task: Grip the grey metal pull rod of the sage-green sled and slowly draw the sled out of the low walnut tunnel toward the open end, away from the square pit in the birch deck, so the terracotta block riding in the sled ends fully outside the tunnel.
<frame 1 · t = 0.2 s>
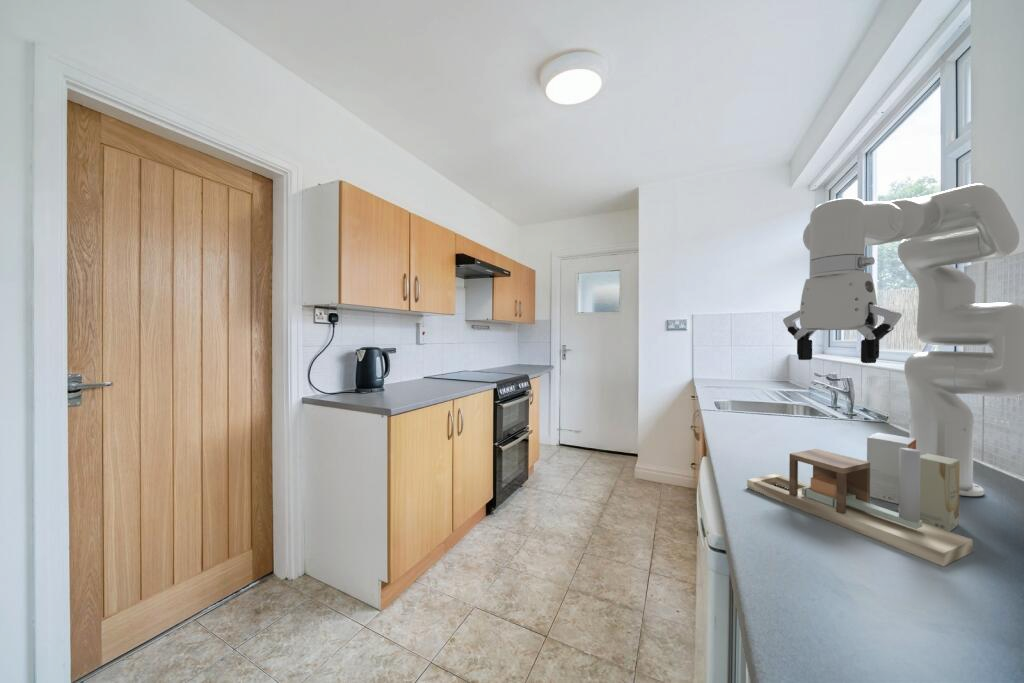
hand: (834, 361, 65), 30 cm above the countertop, tool pointing down, fingers open, 9 cm apart
block: (828, 499, 71), point 2 cm above the countertop, touching deck
tunnel: (827, 509, 71), resting on deck
deck: (840, 514, 69), on the countertop
sled: (859, 474, 66), point 9 cm above the countertop, slide at 0.0 cm
small box: (890, 497, 77), on the countertop
skincare box: (936, 524, 66), on the countertop
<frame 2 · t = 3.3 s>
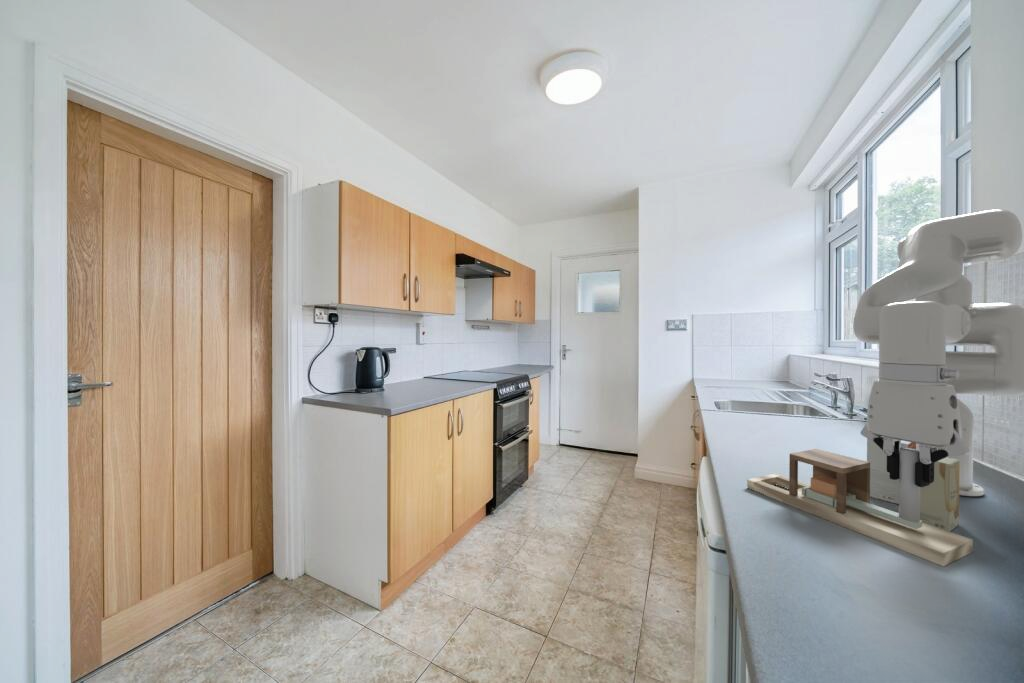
hand: (909, 480, 60), 10 cm above the countertop, tool pointing down, fingers closed on sled, 2 cm apart
sled: (859, 474, 66), point 9 cm above the countertop, slide at 0.0 cm, touching gripper
everything else where it was.
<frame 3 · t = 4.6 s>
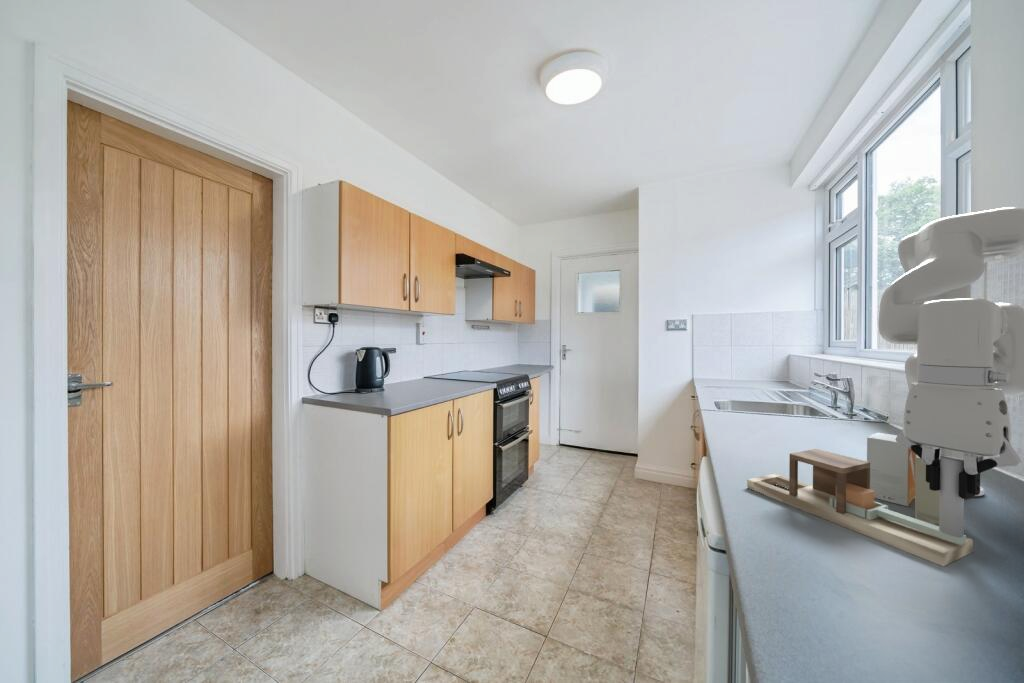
hand: (951, 492, 56), 10 cm above the countertop, tool pointing down, fingers closed on sled, 2 cm apart
block: (854, 509, 67), point 2 cm above the countertop, touching deck, sled
sled: (893, 484, 62), point 9 cm above the countertop, slide at 4.7 cm, touching block, gripper
everything else where it was.
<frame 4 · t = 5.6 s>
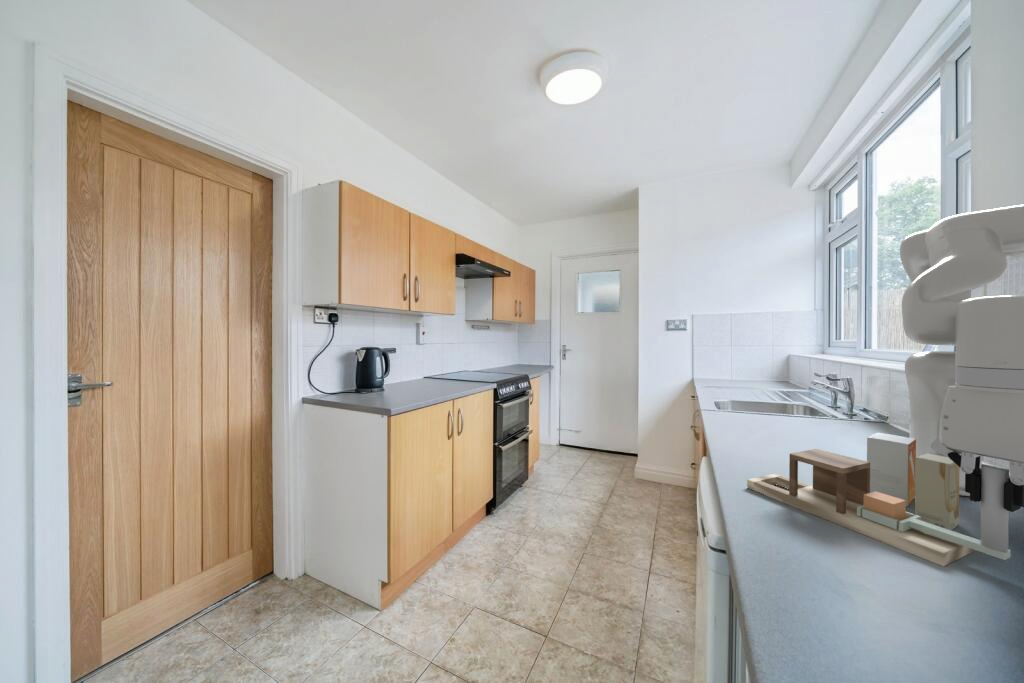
hand: (994, 503, 52), 10 cm above the countertop, tool pointing down, fingers closed on sled, 2 cm apart
block: (884, 519, 63), point 2 cm above the countertop, touching deck, sled
sled: (928, 493, 58), point 9 cm above the countertop, slide at 8.9 cm, touching block, gripper
everything else where it was.
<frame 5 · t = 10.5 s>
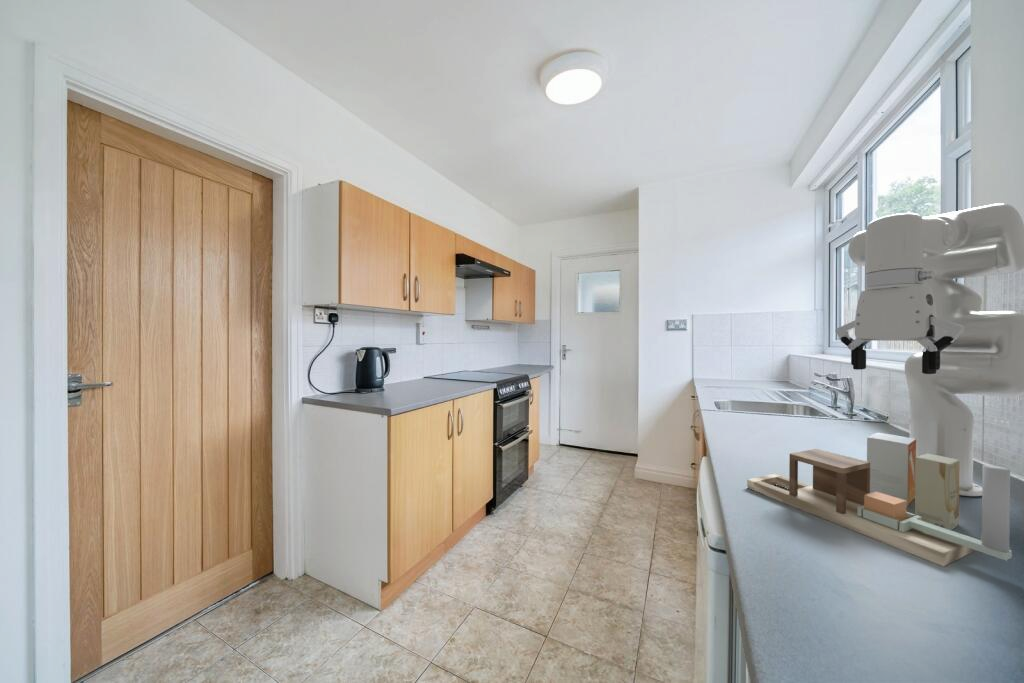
hand: (892, 371, 67), 28 cm above the countertop, tool pointing down, fingers open, 9 cm apart
sled: (929, 494, 58), point 9 cm above the countertop, slide at 8.9 cm, touching block
everything else where it was.
at the end: sled slide at 8.9 cm; block inside the target area (2.1 cm from its centre), point 2.0 cm above the countertop; block tilted 0° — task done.
